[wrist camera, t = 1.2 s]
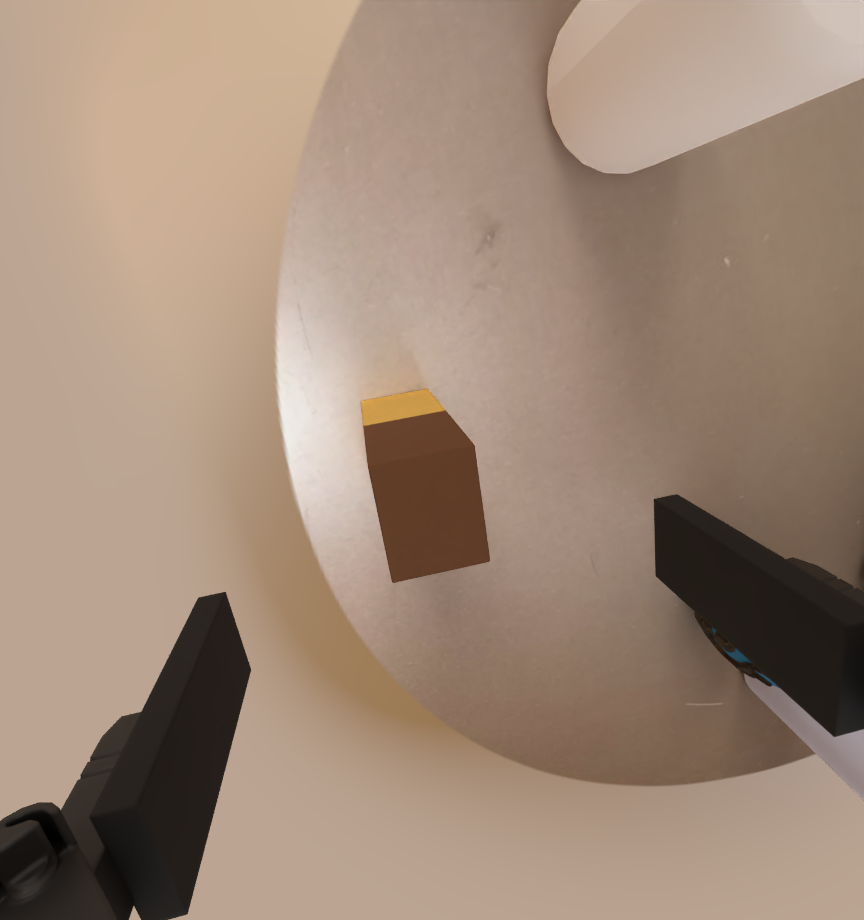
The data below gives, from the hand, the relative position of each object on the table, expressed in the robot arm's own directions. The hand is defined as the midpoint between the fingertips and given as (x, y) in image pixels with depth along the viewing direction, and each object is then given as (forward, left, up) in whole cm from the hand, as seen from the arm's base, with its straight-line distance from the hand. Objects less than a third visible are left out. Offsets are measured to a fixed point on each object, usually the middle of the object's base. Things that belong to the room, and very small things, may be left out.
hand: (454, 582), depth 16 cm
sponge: (0, 0, -17) cm, 17 cm away
